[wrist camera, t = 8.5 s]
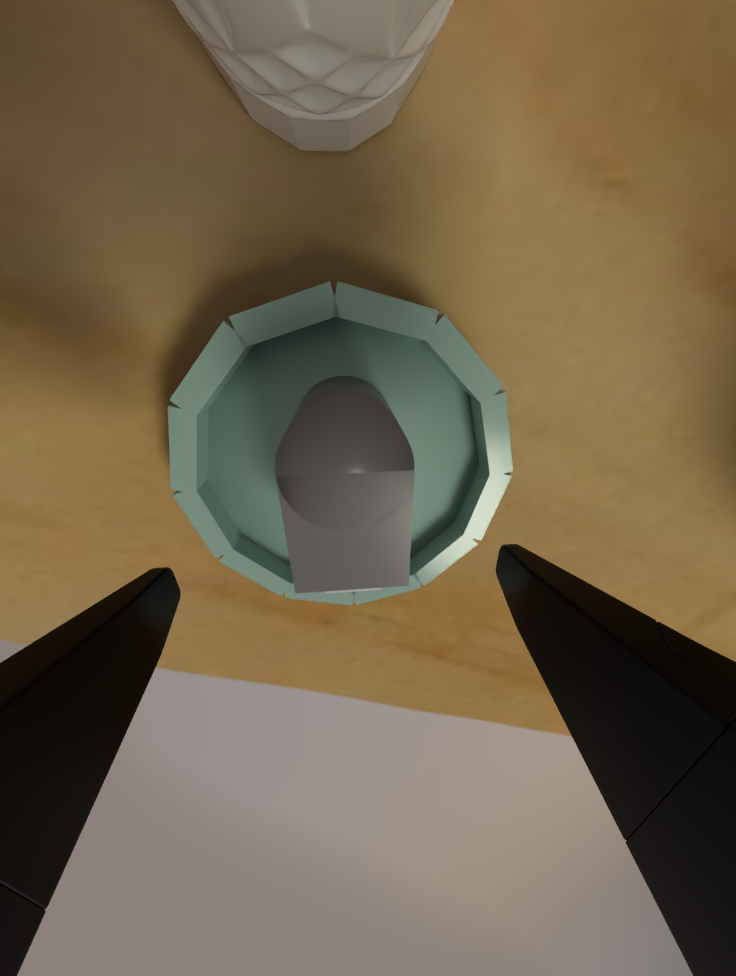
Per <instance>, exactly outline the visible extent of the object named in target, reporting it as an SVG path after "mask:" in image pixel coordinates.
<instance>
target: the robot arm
mask: <svg viewBox="0 0 736 976" xmlns="http://www.w3.org/2000/svg"><path fill="white" fill-rule="evenodd" d="M496 574H497V578H498V580H499V583H500V585H501V588H502V591H503V593H504V596H505V599H506V601H507V604H508V606H509V609H510V612H511V614H512V617H513V619H514V622H515V624H516V627H517V629H518V631H519V633H520V635H521V637H522V639H523V641H524V643H525V645H526V647H527V649H528V651H529V653H530V655H531V657H532V658H533V660H534V662H535V664H536V666H537V668H538V670H539V672H540V674H541V676H542V678H543V680H544V682H545V684H546V686H547V688H548V690H549V692H550V694H551V696H552V698H553V700H554V702H555V704H556V706H557V708H558V710H559V712H560V714H561V716H562V718H563V720H564V721H565V723H566V725H567V727H568V729H569V731H570V733H571V735H572V737H573V739H574V741H575V743H576V745H577V747H578V749H579V751H580V753H581V755H582V757H583V759H584V761H585V763H586V765H587V767H588V769H589V771H590V773H591V774H592V776H593V779H594V781H595V782H596V784H597V786H598V788H599V790H600V792H601V794H602V796H603V798H604V800H605V802H606V804H607V806H608V808H609V810H610V812H611V814H612V816H613V818H614V820H615V822H616V824H617V826H618V828H619V830H620V832H621V834H622V836H623V838H624V839H625V840H627V841H626V844H627V846H628V848H629V850H630V852H631V854H632V856H633V858H634V860H635V862H636V864H637V866H638V868H639V870H640V872H641V873H642V876H643V878H644V880H645V882H646V883H647V885H648V887H649V889H650V891H651V893H652V895H653V897H654V899H655V901H656V903H657V905H658V907H659V909H660V911H661V913H662V915H663V917H664V919H665V921H666V923H667V925H668V927H669V929H670V931H671V933H672V935H673V937H674V938H675V941H676V942H677V945H678V946H679V948H680V950H681V952H682V954H683V956H684V958H685V960H686V962H687V964H688V966H689V968H690V970H691V972H692V974H693V976H736V662H735V661H733V660H731V659H729V658H727V657H725V656H723V655H721V654H719V653H717V652H715V651H713V650H711V649H709V648H707V647H705V646H703V645H701V644H699V643H697V642H695V641H694V640H692V639H690V638H688V637H686V636H684V635H682V634H680V633H678V632H677V631H675V630H673V629H671V628H669V627H668V626H666V625H664V624H662V623H660V622H656V620H655V619H653V618H651V617H649V616H647V615H645V614H644V613H642V612H640V611H638V610H636V609H635V608H633V607H631V606H629V605H627V604H625V603H624V602H622V601H620V600H618V599H616V598H614V597H613V596H611V595H609V594H607V593H605V592H603V591H602V590H600V589H598V588H596V587H594V586H592V585H591V584H589V583H587V582H585V581H583V580H581V579H580V578H578V577H576V576H574V575H572V574H571V573H569V572H567V571H565V570H563V569H561V568H560V567H558V566H556V565H554V564H552V563H550V562H549V561H547V560H545V559H543V558H541V557H539V556H538V555H536V554H534V553H532V552H530V551H528V550H527V549H525V548H523V547H521V546H519V545H517V544H507V545H502V546H501V547H500V550H499V555H498V560H497V565H496ZM179 600H180V589H179V586H178V583H177V581H176V578H175V576H174V573H173V571H172V570H171V569H170V568H168V567H163V568H153V569H151V570H149V571H147V572H146V573H144V574H143V575H141V576H139V577H138V578H136V579H135V580H133V581H131V582H130V583H128V584H126V585H125V586H123V587H122V588H120V589H118V590H117V591H115V592H114V593H112V594H110V595H109V596H107V597H106V598H104V599H102V600H101V601H99V602H98V603H96V604H94V605H93V606H91V607H89V608H88V609H86V610H85V611H83V612H81V613H80V614H78V615H77V616H75V617H73V618H72V619H70V620H69V621H67V622H65V623H64V624H62V625H61V626H59V627H57V628H56V629H54V630H52V631H51V632H49V633H48V634H46V635H44V636H43V637H41V638H40V639H38V640H36V641H35V642H33V643H32V644H30V645H28V646H27V647H25V648H24V649H22V650H20V651H19V652H17V653H16V654H14V655H12V656H11V657H9V658H8V659H6V660H4V661H3V662H1V663H0V976H17V974H18V972H19V970H20V968H21V965H22V963H23V961H24V959H25V956H26V954H27V952H28V950H29V947H30V945H31V943H32V941H33V939H34V936H35V934H36V932H37V929H38V927H39V925H40V923H41V921H42V919H43V917H44V914H45V909H46V908H47V906H48V905H49V902H50V900H51V898H52V896H53V893H54V891H55V889H56V887H57V885H58V882H59V880H60V878H61V875H62V873H63V871H64V869H65V867H66V865H67V862H68V860H69V858H70V856H71V854H72V851H73V849H74V847H75V845H76V843H77V840H78V838H79V836H80V834H81V831H82V829H83V827H84V825H85V823H86V820H87V818H88V816H89V814H90V811H91V809H92V807H93V805H94V803H95V800H96V798H97V796H98V794H99V792H100V789H101V787H102V785H103V783H104V780H105V778H106V776H107V774H108V771H109V769H110V767H111V765H112V763H113V760H114V758H115V756H116V754H117V752H118V749H119V747H120V745H121V743H122V740H123V738H124V736H125V734H126V732H127V729H128V727H129V725H130V723H131V721H132V718H133V716H134V714H135V712H136V709H137V707H138V705H139V703H140V701H141V698H142V696H143V694H144V692H145V689H146V687H147V685H148V683H149V681H150V678H151V676H152V674H153V672H154V669H155V667H156V665H157V663H158V660H159V658H160V656H161V653H162V650H163V648H164V645H165V642H166V639H167V636H168V633H169V630H170V627H171V624H172V621H173V618H174V615H175V612H176V609H177V606H178V603H179Z"/></svg>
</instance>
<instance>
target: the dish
mask: <svg viewBox="0 0 736 976" xmlns="http://www.w3.org/2000/svg"><path fill="white" fill-rule="evenodd" d="M438 313H439V310H436V309H433V308H429V307H426V306H422V305H419V304H415V303H412V302H408V301H405V300H401V299H398V298H394V297H391V296H387V295H384V294H380V293H377V292H373V291H370V290H366V289H363V288H360V287H356V286H353V285H349V284H346V283H342V282H339V281H337V287H336V292H333V290H332V287H331V283H330V281H329V282H326V283H324V284H321V285H318V286H315V287H312V288H309V289H306V290H303V291H301V292H298V293H295V294H292V295H289V296H286V297H283V298H280V299H277V300H275V301H272V302H269V303H266V304H263V305H260V306H257V307H254V308H252V309H249V310H246V311H243V312H240V313H237V314H234V315H231V316H229V318H230V320H231V321H223V322H222V323H221V325H220V326H219V328H218V329H217V331H216V332H215V333H214V335H213V336H212V338H211V339H210V341H209V342H208V344H207V345H206V347H205V348H204V350H203V351H202V353H201V354H200V356H199V357H198V358H197V360H196V361H195V363H194V364H193V366H192V367H191V369H190V370H189V372H188V373H187V375H186V376H185V378H184V379H183V381H182V382H181V383H180V385H179V386H178V388H177V389H176V391H175V392H174V394H173V395H172V397H171V398H170V401H171V402H173V404H171V405H169V406H168V430H169V457H170V484H171V490H176V492H175V493H174V494H173V496H174V498H175V499H176V501H177V502H178V504H179V505H180V507H181V508H182V510H183V511H184V513H185V514H186V516H187V517H188V519H189V520H190V522H191V523H192V525H193V526H194V528H195V529H196V531H197V532H198V533H199V535H200V536H201V538H202V539H203V541H204V542H205V544H206V545H207V547H208V548H209V550H210V551H211V553H212V554H213V556H214V557H215V558H216V557H219V556H221V558H220V559H219V562H221V563H223V564H224V565H226V566H228V567H230V568H232V569H233V570H235V571H237V572H239V573H240V574H242V575H244V576H246V577H247V578H249V579H251V580H253V581H254V582H256V583H258V584H260V585H261V586H263V587H265V588H267V589H268V590H270V591H272V592H274V593H275V594H277V595H279V596H281V595H282V594H283V593H284V592H285V591H286V593H285V598H292V599H301V600H309V601H318V602H326V603H335V604H343V605H352V604H353V601H354V600H355V602H356V605H359V604H363V603H367V602H370V601H374V600H378V599H381V598H385V597H389V596H392V595H396V594H400V593H404V592H407V591H411V590H415V589H418V588H421V586H420V583H419V582H421V583H422V584H423V585H427V584H428V583H429V582H430V581H432V580H433V579H434V578H436V577H437V576H438V575H439V574H441V573H442V572H443V571H444V570H446V569H447V568H448V567H450V566H451V565H452V564H453V563H455V562H456V561H457V560H458V559H460V558H461V557H462V556H464V555H465V554H466V553H467V552H469V551H470V550H471V549H472V548H474V547H475V546H476V545H478V543H477V541H476V540H482V538H483V535H484V533H485V531H486V529H487V527H488V525H489V523H490V521H491V519H492V517H493V515H494V512H495V510H496V508H497V506H498V504H499V502H500V500H501V498H502V496H503V494H504V492H505V489H506V487H507V485H508V483H509V481H510V479H511V477H512V476H511V475H510V474H509V473H508V472H511V471H513V467H512V455H511V444H510V433H509V422H508V411H507V400H506V392H505V391H503V390H500V389H501V388H502V387H503V385H502V384H501V383H500V381H499V380H498V379H497V378H496V376H495V375H494V374H493V373H492V371H491V370H490V369H489V368H488V367H487V365H486V364H485V363H484V362H483V360H482V359H481V358H480V357H479V355H478V354H477V353H476V352H475V351H474V349H473V348H472V347H471V346H470V344H469V343H468V342H467V341H466V340H465V338H464V337H463V336H462V335H461V333H460V332H459V331H458V330H457V328H456V327H455V326H454V325H453V324H452V322H451V321H450V320H449V319H448V317H447V316H446V315H445V314H442V315H438ZM335 376H353V377H357V378H360V379H363V380H365V381H367V382H368V383H370V384H372V385H373V386H374V387H375V388H376V389H378V391H379V392H380V393H381V394H382V395H383V397H384V398H385V400H386V402H387V403H388V405H389V407H390V409H391V411H392V412H393V414H394V416H395V418H396V420H397V421H398V423H399V425H400V427H401V429H402V430H403V432H404V434H405V436H406V438H407V440H408V442H409V444H410V446H411V449H412V452H413V457H414V490H413V510H412V531H411V551H410V571H409V586H399V587H384V588H381V590H370V591H356V592H341V593H325V592H310V593H295V589H294V583H293V577H292V571H291V565H290V559H289V554H288V548H287V542H286V536H285V530H284V524H283V518H282V512H281V506H280V500H279V494H278V489H277V483H276V477H275V458H276V453H277V450H278V447H279V444H280V442H281V440H282V438H283V436H284V434H285V432H286V430H287V429H288V427H289V425H290V423H291V421H292V419H293V417H294V415H295V413H296V411H297V409H298V408H299V406H300V404H301V402H302V400H303V398H304V397H305V395H306V394H307V392H308V391H309V390H310V389H311V388H312V387H313V386H315V385H316V384H317V383H319V382H321V381H323V380H325V379H327V378H330V377H335ZM475 539H476V540H475Z"/></svg>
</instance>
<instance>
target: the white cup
mask: <svg viewBox="0 0 736 976" xmlns="http://www.w3.org/2000/svg"><path fill="white" fill-rule="evenodd" d="M172 1H173V3H174V4H175V6H176V7H177V9H178V11H179V12H180V14H181V15H182V17H183V18H184V20H185V22H186V23H187V24H188V26H189V27H190V28H191V30H192V31H193V32H194V33H195V34H196V35H197V36H198V38H199V39H200V41H201V43H202V45H203V47H204V48H205V50H206V52H207V54H208V55H209V57H210V59H211V60H212V62H213V63H214V65H215V66H216V67H217V69H218V70H219V72H220V73H221V75H222V76H223V78H224V79H225V81H226V82H227V84H228V85H229V86H230V88H231V89H232V91H233V92H234V94H235V95H236V97H237V98H238V100H239V101H240V103H241V104H242V105H243V107H244V108H245V110H246V111H247V113H248V114H249V116H250V117H251V118H252V120H254V121H255V122H257V123H258V124H260V125H261V126H263V127H264V128H266V129H268V130H269V131H271V132H272V133H274V134H275V135H277V136H278V137H280V138H282V139H283V140H285V141H286V142H288V143H289V144H291V145H292V146H294V147H295V148H297V149H299V150H301V151H339V152H348V151H350V150H352V149H353V148H355V147H356V146H358V145H359V144H361V143H362V142H364V141H366V140H367V139H369V138H370V137H372V136H373V135H375V134H376V133H378V132H379V131H381V130H383V129H384V128H386V127H387V126H389V125H390V124H391V123H392V122H393V120H394V119H395V117H396V115H397V114H398V112H399V110H400V109H401V107H402V105H403V103H404V102H405V100H406V98H407V97H408V95H409V93H410V92H411V90H412V88H413V87H414V85H415V83H416V81H417V80H418V78H419V76H420V75H421V73H422V71H423V70H424V68H425V66H426V63H427V61H428V58H429V55H430V53H431V50H432V48H433V45H434V42H435V40H436V37H437V35H438V33H439V31H440V29H441V27H442V25H443V23H444V21H445V19H446V17H447V15H448V13H449V11H450V9H451V7H452V4H453V2H454V0H172Z"/></svg>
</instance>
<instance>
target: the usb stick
mask: <svg viewBox="0 0 736 976" xmlns="http://www.w3.org/2000/svg"><path fill="white" fill-rule="evenodd" d="M275 477H276V483H277V489H278V494H279V500H280V506H281V512H282V518H283V524H284V530H285V536H286V542H287V548H288V554H289V559H290V565H291V571H292V577H293V583H294V589H295V593H310V592H325V593H341V592H356V591H370V590H381V588H384V587H399V586H409V571H410V551H411V531H412V510H413V490H414V457H413V452H412V449H411V446H410V444H409V442H408V440H407V438H406V436H405V434H404V432H403V430H402V429H401V427H400V425H399V423H398V421H397V420H396V418H395V416H394V414H393V412H392V411H391V409H390V407H389V405H388V403H387V402H386V400H385V398H384V397H383V395H382V394H381V393H380V392H379V391H378V389H376V388H375V387H374V386H373V385H372V384H370V383H368V382H367V381H365V380H363V379H360V378H357V377H353V376H335V377H330V378H327V379H325V380H323V381H321V382H319V383H317V384H316V385H315V386H313V387H312V388H311V389H310V390H309V391H308V392H307V394H306V395H305V397H304V398H303V400H302V402H301V404H300V406H299V408H298V409H297V411H296V413H295V415H294V417H293V419H292V421H291V423H290V425H289V427H288V429H287V430H286V432H285V434H284V436H283V438H282V440H281V442H280V444H279V447H278V450H277V453H276V458H275Z"/></svg>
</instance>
